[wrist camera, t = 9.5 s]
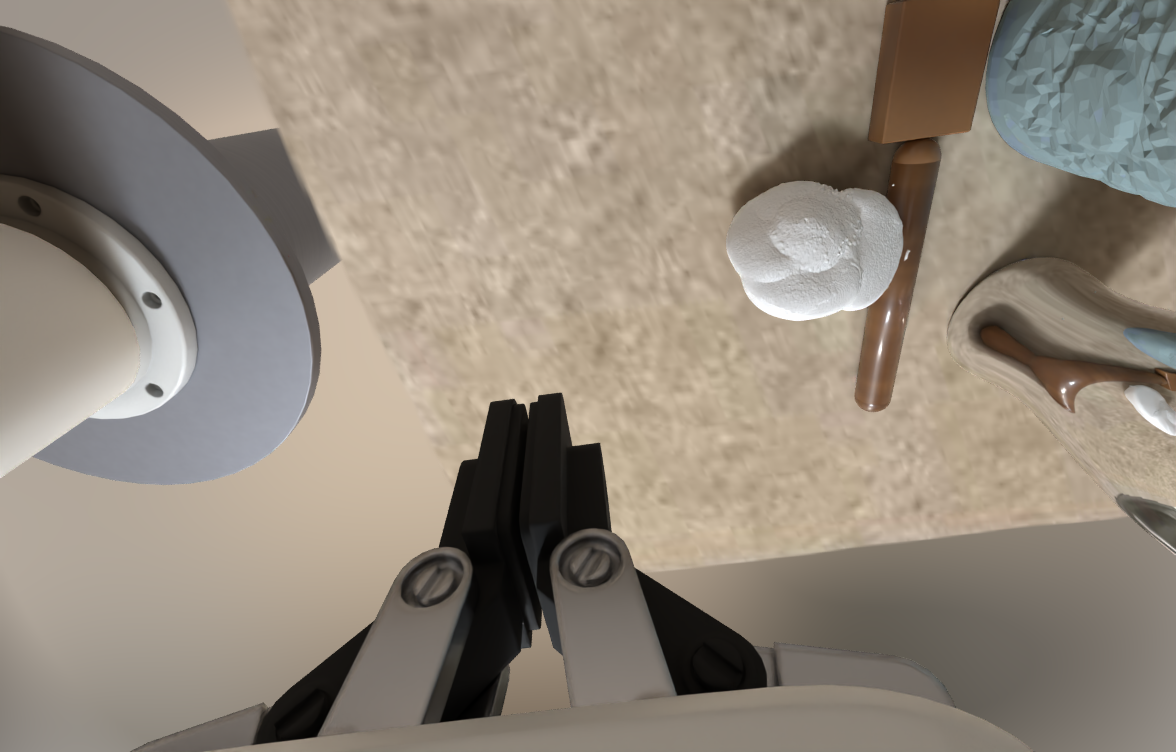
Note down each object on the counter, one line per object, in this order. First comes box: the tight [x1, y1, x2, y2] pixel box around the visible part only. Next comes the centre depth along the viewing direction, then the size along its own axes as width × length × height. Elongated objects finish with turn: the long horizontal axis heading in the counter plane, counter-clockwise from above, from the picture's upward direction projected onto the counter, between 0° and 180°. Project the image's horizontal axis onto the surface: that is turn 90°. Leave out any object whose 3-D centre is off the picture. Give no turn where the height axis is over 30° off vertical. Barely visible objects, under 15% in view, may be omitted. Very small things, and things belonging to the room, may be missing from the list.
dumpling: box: [726, 181, 910, 321], centre depth 20 cm, size 7×5×4 cm
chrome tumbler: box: [947, 257, 1176, 555], centre depth 17 cm, size 7×7×15 cm
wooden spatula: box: [855, 0, 1000, 412], centre depth 21 cm, size 17×3×2 cm, turn 8°
